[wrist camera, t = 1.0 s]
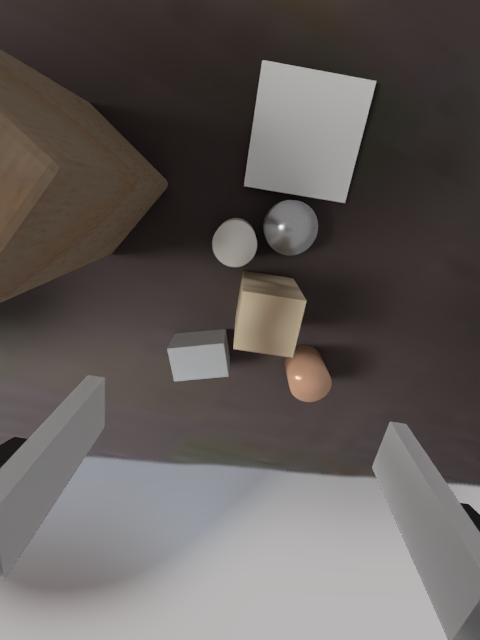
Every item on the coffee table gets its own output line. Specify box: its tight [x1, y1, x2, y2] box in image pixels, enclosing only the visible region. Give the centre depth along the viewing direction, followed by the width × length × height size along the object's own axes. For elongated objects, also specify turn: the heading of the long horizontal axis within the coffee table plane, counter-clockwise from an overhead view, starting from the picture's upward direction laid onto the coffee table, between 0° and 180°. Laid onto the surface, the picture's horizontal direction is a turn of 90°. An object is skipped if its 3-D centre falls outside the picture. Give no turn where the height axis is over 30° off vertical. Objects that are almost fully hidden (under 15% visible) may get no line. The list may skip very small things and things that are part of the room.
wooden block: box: [0, 49, 168, 303], centre depth 22 cm, size 10×10×20 cm
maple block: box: [233, 271, 307, 358], centre depth 32 cm, size 6×6×8 cm
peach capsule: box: [284, 345, 332, 402], centre depth 36 cm, size 4×4×5 cm
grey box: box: [167, 329, 230, 381], centre depth 36 cm, size 6×4×4 cm, turn 96°
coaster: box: [244, 60, 376, 203], centre depth 29 cm, size 10×10×1 cm
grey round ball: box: [263, 200, 318, 255], centre depth 31 cm, size 5×5×3 cm
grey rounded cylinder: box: [212, 218, 257, 267], centre depth 31 cm, size 4×4×5 cm
